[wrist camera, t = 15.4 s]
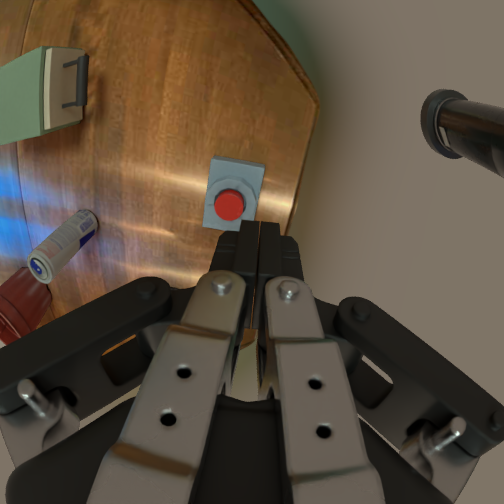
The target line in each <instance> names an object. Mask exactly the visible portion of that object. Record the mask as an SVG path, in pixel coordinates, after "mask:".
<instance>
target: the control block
mask: <svg viewBox="0 0 504 504" xmlns="http://www.w3.org/2000/svg"><path fill="white" fill-rule="evenodd" d="M264 171H265V165H264V164H259V163H254V162H249V161H244V160H238V159H233V158H227V157H221V156H213V158H212V159H211V164H210V171H209V178H208V185H207V192H206V198H205V208H204V216H203V225H202V226H203V227H208V228H213V229H219V230H224V231H227V230H230V231H239V229H240V224H241V219H242V220H252V221H254V217H255V212H256V208H257V203H258V199H259V194H260V189H261V185H262V180H263V175H264ZM225 190H235V191H237V192H239V193H240V194H241V195H242V197H243V199H244V208H243V212H242V214H241V216H240V217H239V218H237V219H236V220H232V221H227V220H223V219H221V218H220V217H219V216H218V215H217V214H216V212H215V209H214V205H215V202H216V199H217V197H218V196H219V194H220V193H221V192H223V191H225Z"/></svg>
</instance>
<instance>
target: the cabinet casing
mask: <svg viewBox="0 0 504 504" xmlns="http://www.w3.org/2000/svg"><path fill="white" fill-rule="evenodd" d="M50 48H66V49H78V50H82V49H79V48H69V47H54V46H41V47H39V48H37V49H35V50H32V51H30V52H28V53H26V54H24V55H22V56H20V57H18V58H17V59H15V60H13V61H11V62H9V63H7V64H6V65H4V66H2V67H1V68H0V145H4V144H7V143H11V142H15V141H19V140H23V139H28V138H32V137H37V136H41V135H44V134H47V133H50V132H53V131H56V130H59V129H62V128H65V127H69V126H72V125H76V124H79V123H80V120H79V121H75V122H71V123H68V124H64V125H61V126H57V127H54V128H51V129H47V130H45V129H44V125H43V72H44V58H45V57H46V50H48V49H50Z"/></svg>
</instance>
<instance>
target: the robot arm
mask: <svg viewBox="0 0 504 504" xmlns="http://www.w3.org/2000/svg"><path fill="white" fill-rule="evenodd" d="M433 126H434V131H435V135H436V137H437V139H438V141H439V143H440V144H441V145H442V146H443V147H444V148H445V149H447V150H449V151H451V152H454V153H457V154H459V155H461V156H463V157H465V158H467V159H469V160H471V161H473V162H475V163H477V164H479V165H481V166H483V167H485V168H487V169H488V170H490V171H492V172H494V173H496V174H498V175H499V176H501V177H503V178H504V108H501V107H497V106H492V105H488V104H483V103H478V102H473V101H468V100H462V99H458V98H453V97H449V98H445V99H443V100H442V101H441V102H440V103H439V104H438V105H437V107H436V109H435V112H434V117H433ZM259 222H260V221H252V220H242V219H241V224H240V229H239V231H230V230H227V231H225V232H224V233H223V234H222V235H220V236H219V240H218V243H217V246H216V249H215V252H214V256H213V259H212V262H211V265H210V269H209V272H208V273H206V274H204V275H203V276H202V277H201V278H200V279H199V281H198V283H197V285H196V286H194V287H191V288H187V289H178V290H171V288H170V285H169V284H168V283H167V282H166V281H165V280H163V279H161V278H158V277H142V278H139V279H136V280H134V281H132V282H130V283H128V284H126V285H124V286H121V287H119V288H117V289H115V290H113V291H111V292H109V293H107V294H105V295H103V296H101V297H99V298H97V299H95V300H93V301H91V302H89V303H87V304H85V305H83V306H81V307H79V308H77V309H75V310H73V311H71V312H69V313H67V314H65V315H63V316H61V317H59V318H57V319H55V320H53V321H51V322H50V323H48V324H46V325H44V326H42V327H40V328H38V329H36V330H34V331H32V332H30V333H28V334H27V335H25V336H23V337H21V338H19V339H17V340H15V341H13V342H12V343H10V344H8V345H6V346H4V347H2V348H0V429H1V432H2V435H3V438H4V441H5V444H6V446H7V449H8V451H9V454H10V456H11V459H12V461H13V463H14V466H15V468H16V469H15V470H14V471H13V472H12V474H11V475H10V477H9V479H8V482H7V485H6V494H5V495H6V503H7V504H454V503H455V501H456V500H457V498H458V497H459V495H460V493H461V492H462V490H463V488H464V487H465V485H466V483H467V481H468V479H469V478H470V476H471V474H472V472H473V470H474V468H475V466H476V464H477V463H478V460H479V458H480V457H481V456H482V455H483V454H484V453H486V452H488V451H489V450H491V449H492V448H494V447H495V446H496V445H498V444H500V443H501V442H502V441H503V440H504V406H503V405H502V404H501V403H499V402H498V401H497V400H496V399H495V398H493V397H492V396H491V395H490V394H489V393H487V392H486V391H485V390H484V389H483V388H481V387H480V386H479V385H478V384H477V383H475V382H474V381H473V380H472V379H471V378H469V377H468V376H467V375H466V374H464V373H463V372H462V371H461V370H459V369H458V368H457V367H456V366H454V365H453V364H452V363H451V362H449V361H448V360H447V359H446V358H444V357H443V356H442V355H441V354H439V353H438V352H437V351H436V350H434V349H433V348H432V347H430V346H429V345H428V344H427V343H425V342H424V341H422V340H421V339H420V338H419V337H417V336H416V335H415V334H414V333H412V332H411V331H410V330H408V329H407V328H406V327H404V326H403V325H402V324H400V323H399V322H398V321H397V320H395V319H394V318H393V317H391V316H390V315H388V314H387V313H386V312H385V311H383V310H382V309H381V308H379V307H378V306H377V305H375V304H374V303H372V302H371V301H369V300H367V299H364V298H361V297H347V298H345V299H343V300H342V301H341V302H340V303H339V306H336V305H333V304H330V303H326V302H323V301H321V300H319V299H317V298H315V297H314V296H313V294H312V290H311V289H310V287H309V286H308V285H307V284H306V283H305V282H304V278H303V272H302V265H301V260H300V254H299V248H298V244H297V242H296V241H295V240H294V239H293V238H292V237H290V236H281V235H280V225H279V223H273V222H263V221H261V226H260V235H259ZM258 238H259V244H258ZM254 288H255V290H254ZM253 297H254V304H253ZM252 305H253V318H252V329H258V339H257V345H256V358H257V381H258V401H253V402H245V401H241V400H238V399H235V398H232V397H230V395H231V389H232V385H233V380H234V375H235V370H236V365H237V360H238V355H239V351H240V344H241V342H242V340H243V335H244V328H249V329H250V322H251V314H252ZM134 334H135V335H136V337H135V338H133V339H131V340H130V341H128V342H126V343H124V344H123V345H121V346H119V347H117V348H116V349H114V350H112V351H110V352H109V353H107V354H105V355H103V356H102V354H103V353H104V352H105V351H106V350H108V349H109V348H111V347H113V346H115V345H116V344H118V343H120V342H122V341H123V340H125V339H127V338H129V337H130V336H132V335H134ZM363 355H365V356H366V357H367V358H368V359H369V360H371V361H372V362H373V363H374V364H375V365H376V366H378V367H379V368H380V369H381V370H382V371H384V372H385V373H386V374H388V376H389V377H390V378H391V379H392V381H393V384H391V383H389V382H388V381H386V380H385V379H384V378H383V377H382V376H380V375H379V374H378V373H377V372H376V371H374V370H373V369H372V368H371V367H370V366H368V364H366V363H365V362H364V361H363V360H362V357H363ZM140 384H141V386H140V388H139V391H138V393H137V395H136V396H135V397H133V398H130V399H128V400H126V401H124V402H122V403H120V404H119V405H117V406H116V407H114V408H113V409H111V410H110V411H108V412H107V413H105V414H104V415H102V416H100V417H99V418H97V419H96V420H94V421H93V422H91V423H90V424H88V425H86V426H85V427H83V428H82V429H80V430H79V425H80V421H81V420H83V419H84V418H86V417H88V416H90V415H91V414H93V413H95V412H96V411H98V410H100V409H101V408H103V407H105V406H106V405H108V404H110V403H111V402H113V401H115V400H116V399H118V398H120V397H121V396H123V395H124V394H126V393H128V392H129V391H131V390H132V389H134V388H136V387H137V386H139V385H140ZM357 413H358V414H359V415H361V416H362V417H363V418H364V419H365V420H366V421H367V422H368V423H369V424H370V425H372V426H373V427H374V428H375V429H376V430H377V431H378V432H379V433H380V434H382V435H383V436H384V437H385V438H386V439H387V440H388V441H390V442H391V443H392V444H393V445H394V446H395V447H396V448H398V449H399V450H400V451H399V454H398V453H397V452H396V451H395V450H394V449H393V448H392V447H391V446H390V445H389V444H388V443H386V441H384V440H383V439H382V438H381V437H380V436H379V435H378V434H377V433H376V432H375V431H374V430H373V429H372V428H371V427H370V426H369V425H368V424H367V423H365V422H364V421H363V420H361V419H360V418H359V417H358V415H357Z"/></svg>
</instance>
